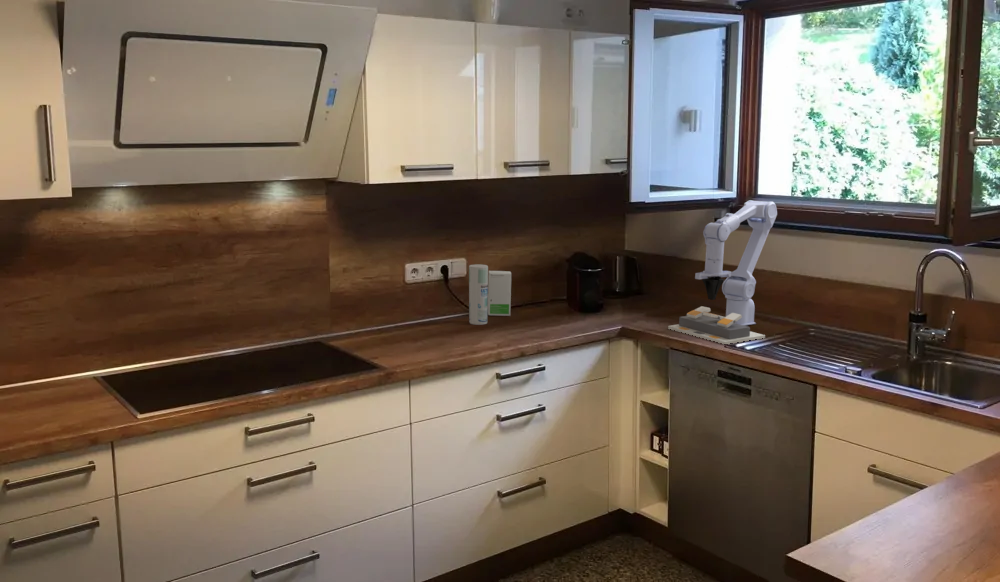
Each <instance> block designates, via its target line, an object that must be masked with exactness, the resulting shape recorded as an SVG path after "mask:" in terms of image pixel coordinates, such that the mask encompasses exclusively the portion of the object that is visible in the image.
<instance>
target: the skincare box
mask: <svg viewBox="0 0 1000 582" xmlns="http://www.w3.org/2000/svg"><path fill="white" fill-rule="evenodd" d="M511 296H512V272H511V271H505V270H488V310H487V316H496V317H497V316H499V317H501V316H503V317H506V316H507V317H511V306H512V305H511V303H512V302H511V301H512V300H511V299H512V297H511Z"/></svg>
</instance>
